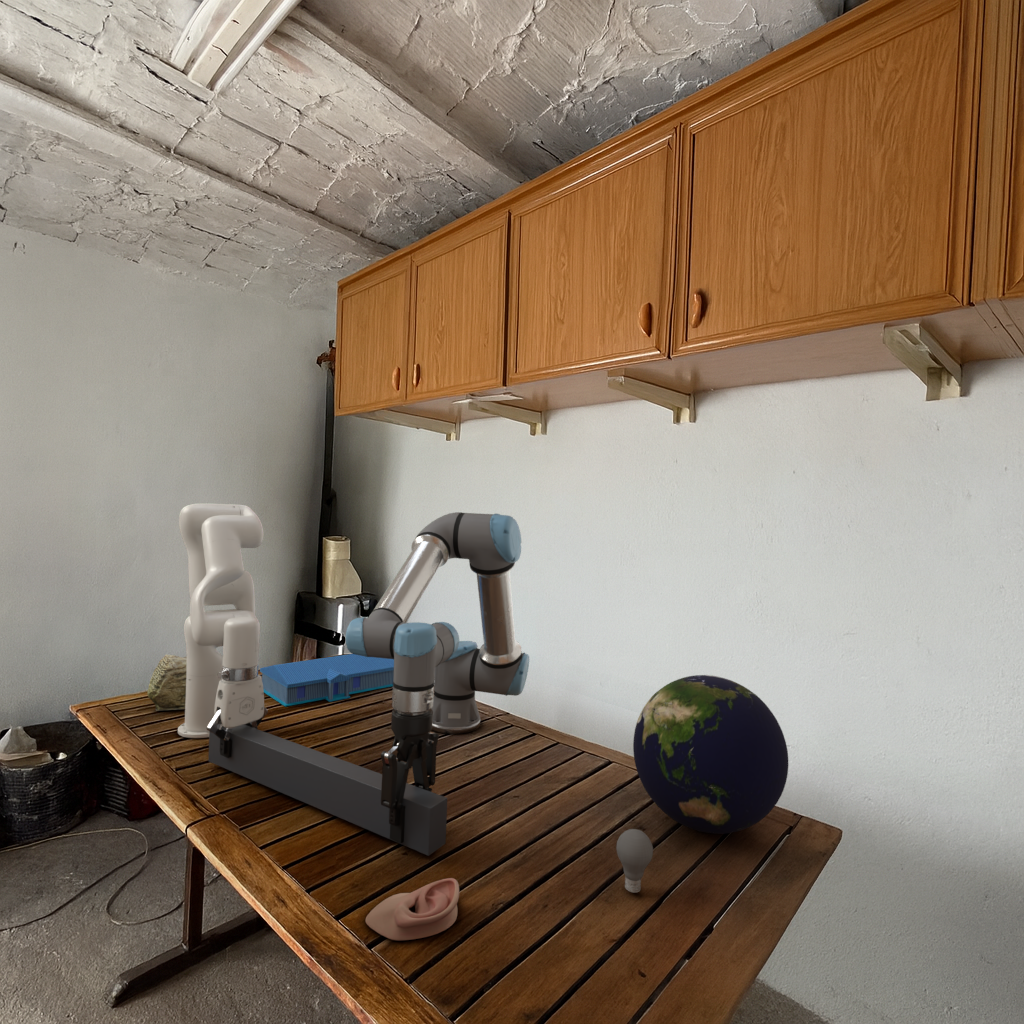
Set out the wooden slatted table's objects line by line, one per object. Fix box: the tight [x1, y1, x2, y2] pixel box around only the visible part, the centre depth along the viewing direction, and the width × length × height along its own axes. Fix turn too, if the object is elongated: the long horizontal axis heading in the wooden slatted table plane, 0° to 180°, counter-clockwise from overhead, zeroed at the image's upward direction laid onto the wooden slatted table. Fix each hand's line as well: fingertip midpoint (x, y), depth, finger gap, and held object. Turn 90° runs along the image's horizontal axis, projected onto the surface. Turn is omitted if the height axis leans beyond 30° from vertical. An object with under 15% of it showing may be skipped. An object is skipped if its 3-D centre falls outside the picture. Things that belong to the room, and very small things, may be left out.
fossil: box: [147, 654, 187, 712], centre depth 185 cm, size 9×18×15 cm, turn 132°
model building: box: [259, 653, 394, 707], centre depth 208 cm, size 39×24×10 cm, turn 132°
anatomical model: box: [365, 877, 460, 942], centre depth 97 cm, size 13×4×12 cm
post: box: [208, 724, 448, 857], centre depth 130 cm, size 65×5×8 cm, turn 58°
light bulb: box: [615, 828, 654, 894], centre depth 106 cm, size 6×6×10 cm
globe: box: [632, 674, 789, 835], centre depth 129 cm, size 30×30×30 cm
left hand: (237, 751), depth 144 cm, fingers closed on post, 5 cm apart
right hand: (407, 833), depth 117 cm, fingers closed on post, 5 cm apart
